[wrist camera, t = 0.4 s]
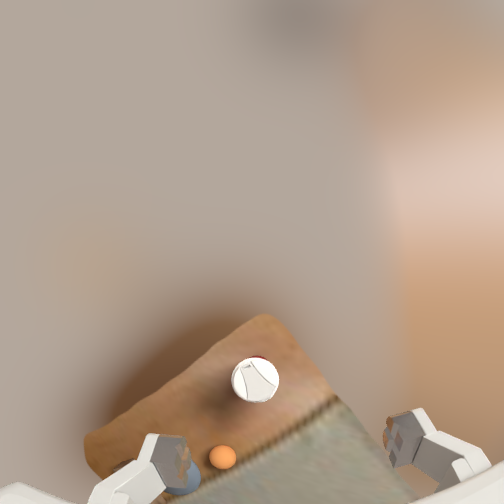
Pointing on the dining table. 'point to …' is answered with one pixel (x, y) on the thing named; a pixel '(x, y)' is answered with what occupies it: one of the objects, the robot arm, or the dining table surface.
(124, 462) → the block
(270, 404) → the dining table surface
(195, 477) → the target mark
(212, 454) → the ball
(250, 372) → the paper cup
